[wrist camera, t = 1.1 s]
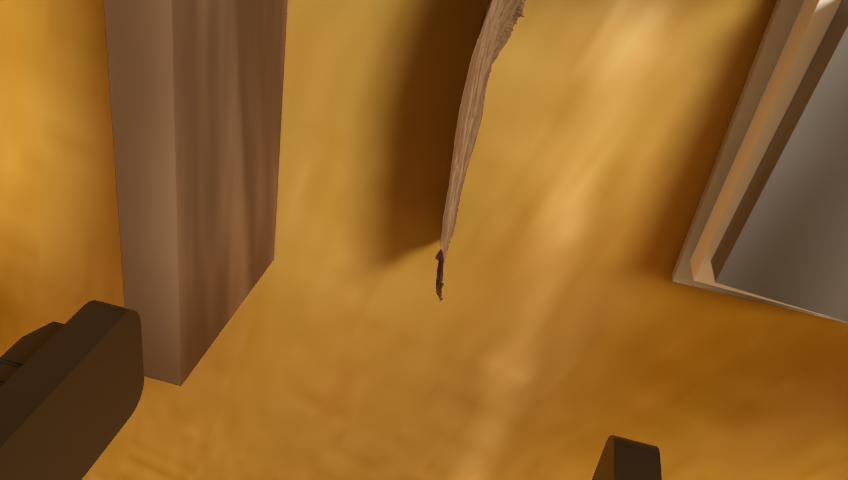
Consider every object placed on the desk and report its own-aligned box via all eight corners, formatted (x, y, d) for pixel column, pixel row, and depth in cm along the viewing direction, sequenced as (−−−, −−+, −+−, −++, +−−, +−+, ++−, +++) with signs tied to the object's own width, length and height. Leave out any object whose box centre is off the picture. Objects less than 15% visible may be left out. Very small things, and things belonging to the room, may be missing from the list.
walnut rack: (990, -215, 22) (1188, -219, 14) (723, 370, 34) (755, 540, 26) (244, -336, 24) (75, -394, 17) (232, 249, 36) (129, 372, 28)
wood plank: (484, 244, 33) (464, 310, 29) (438, 230, 33) (411, 293, 29) (601, -149, 25) (598, -138, 21) (539, -165, 25) (523, -157, 21)
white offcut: (1022, -8, 24) (1046, 3, 23) (842, 300, 30) (853, 323, 29) (827, -53, 24) (838, -44, 23) (690, 260, 31) (693, 280, 29)
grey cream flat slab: (1028, -51, 25) (1051, -42, 23) (840, 303, 32) (850, 323, 31) (804, -92, 25) (814, -87, 24) (670, 262, 33) (672, 281, 31)
